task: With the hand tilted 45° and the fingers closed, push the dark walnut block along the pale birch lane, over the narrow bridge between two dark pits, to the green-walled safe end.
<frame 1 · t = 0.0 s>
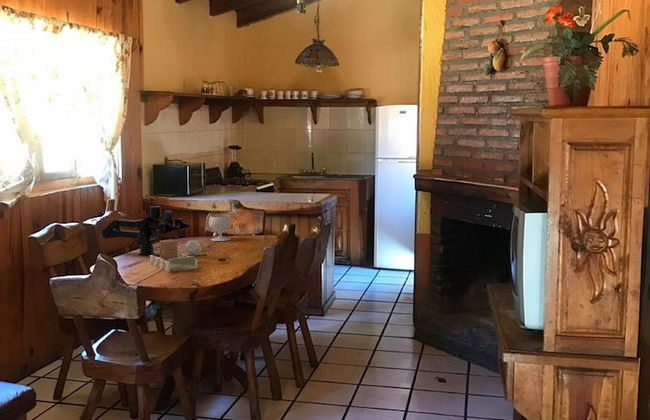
hand: (185, 227, 355), 17 cm above the table, tool horizontal, fingers open, 9 cm apart
walnut block: (168, 258, 340), point 3 cm above the table, touching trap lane
die: (193, 255, 365), on the table
chalice: (220, 240, 412), on the table
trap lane: (172, 265, 336), on the table
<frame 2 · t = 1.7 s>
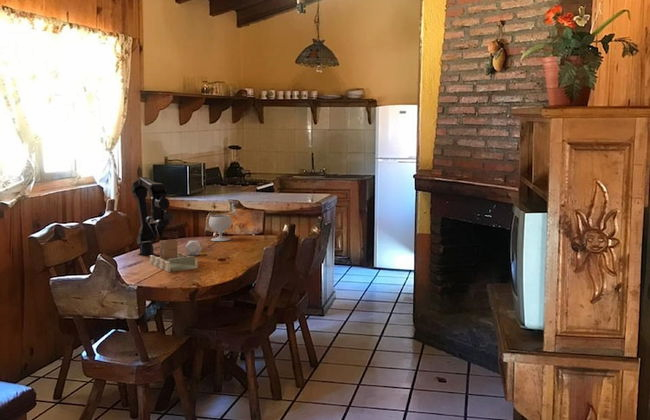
hand: (158, 237, 350), 12 cm above the table, tool pointing down, fingers open, 6 cm apart
nothing on the table moved.
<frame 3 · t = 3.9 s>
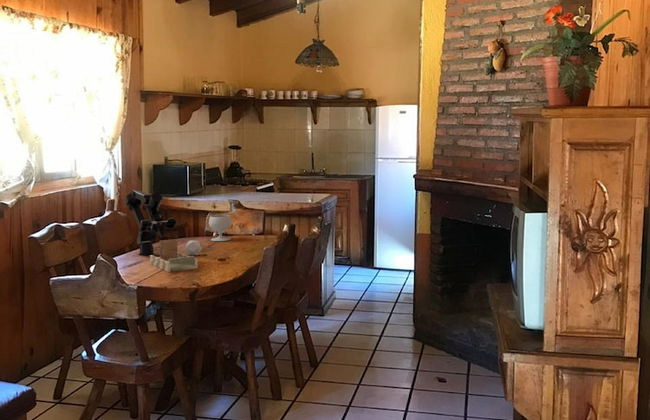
hand: (162, 237, 345), 13 cm above the table, tool tilted 45°, fingers closed
nothing on the table moved.
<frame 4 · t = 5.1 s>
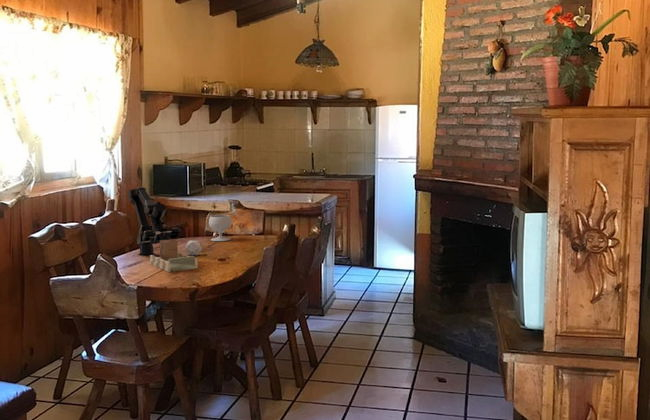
hand: (166, 247, 342), 8 cm above the table, tool tilted 45°, fingers closed, pressing on walnut block
walnut block: (168, 258, 340), point 3 cm above the table, touching gripper
everything else where it was.
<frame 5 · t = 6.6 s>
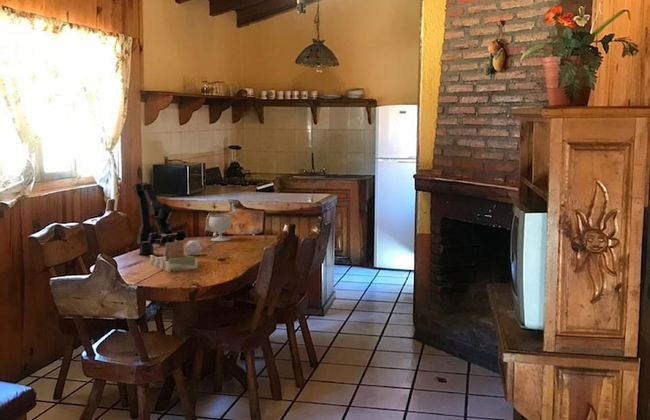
hand: (172, 250, 336), 8 cm above the table, tool tilted 45°, fingers closed, pressing on walnut block
walnut block: (175, 260, 333), point 3 cm above the table, touching gripper
everything else where it was.
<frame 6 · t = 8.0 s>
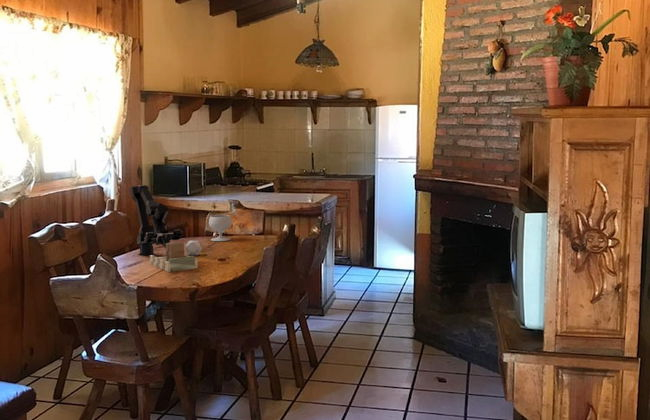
hand: (168, 249, 340), 7 cm above the table, tool tilted 45°, fingers closed
walnut block: (175, 261, 333), point 3 cm above the table, touching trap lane
everything else where it was.
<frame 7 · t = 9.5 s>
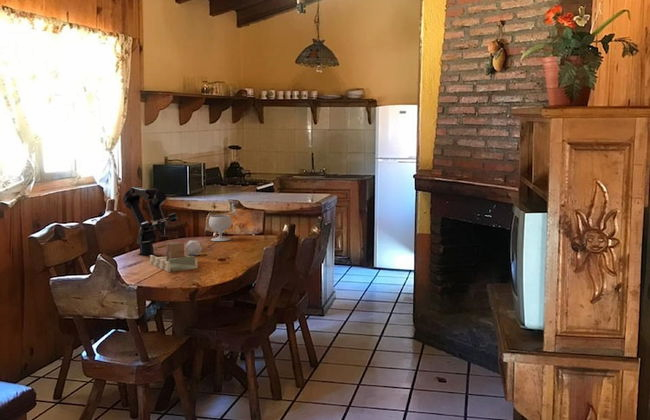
hand: (163, 236, 349), 13 cm above the table, tool tilted 35°, fingers closed
nothing on the table moved.
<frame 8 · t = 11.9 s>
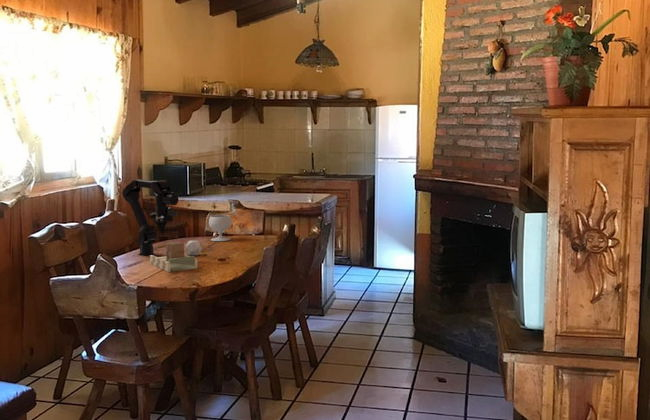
hand: (162, 233, 357), 13 cm above the table, tool pointing down, fingers closed
nothing on the table moved.
at the end: walnut block inside the target area (0.9 cm from its centre), point 3.0 cm above the table; walnut block tilted 0°; walnut block moved 8.7 cm from its start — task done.
